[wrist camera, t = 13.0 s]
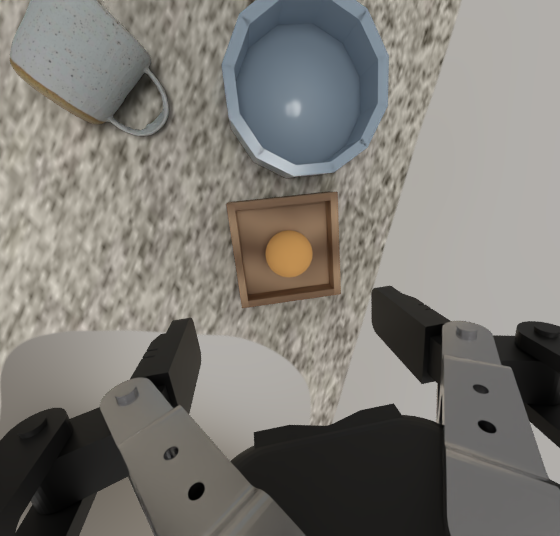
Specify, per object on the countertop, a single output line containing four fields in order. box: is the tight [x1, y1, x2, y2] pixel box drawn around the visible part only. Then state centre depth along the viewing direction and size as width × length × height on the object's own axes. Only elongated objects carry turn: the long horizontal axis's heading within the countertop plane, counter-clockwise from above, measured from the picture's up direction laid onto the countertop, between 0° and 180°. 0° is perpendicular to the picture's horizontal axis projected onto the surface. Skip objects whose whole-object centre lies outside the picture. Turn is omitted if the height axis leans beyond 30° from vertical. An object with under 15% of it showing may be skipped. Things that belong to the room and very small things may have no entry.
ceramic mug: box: [10, 0, 169, 136], centre depth 23 cm, size 11×8×8 cm
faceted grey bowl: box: [222, 0, 389, 178], centre depth 26 cm, size 15×15×5 cm
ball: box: [266, 230, 313, 277], centre depth 30 cm, size 5×5×5 cm
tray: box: [226, 192, 341, 308], centre depth 32 cm, size 12×12×3 cm
